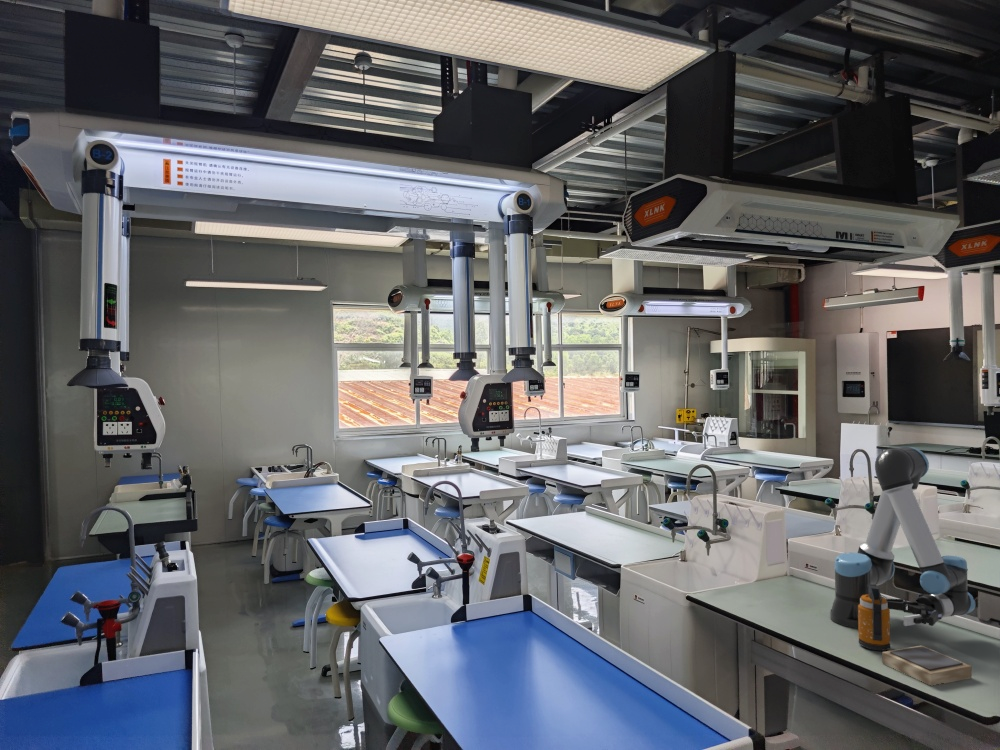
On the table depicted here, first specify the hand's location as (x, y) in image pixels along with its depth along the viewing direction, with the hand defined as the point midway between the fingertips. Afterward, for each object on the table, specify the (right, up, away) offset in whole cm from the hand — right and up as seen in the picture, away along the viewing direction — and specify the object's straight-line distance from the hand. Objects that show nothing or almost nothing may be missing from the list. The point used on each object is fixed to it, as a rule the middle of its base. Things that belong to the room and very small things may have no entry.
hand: (885, 614), depth 215 cm
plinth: (+2, -11, -17) cm, 20 cm away
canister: (-3, -11, 0) cm, 12 cm away
